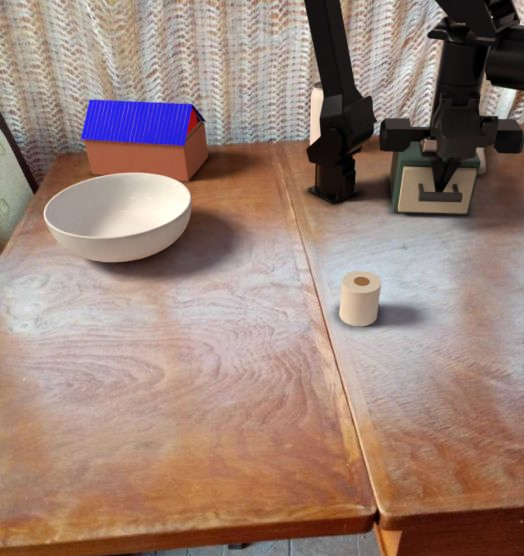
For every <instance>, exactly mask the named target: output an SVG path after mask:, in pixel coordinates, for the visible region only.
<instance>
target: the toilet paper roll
mask: <svg viewBox="0 0 524 556" xmlns="http://www.w3.org/2000/svg"><path fill="white" fill-rule="evenodd" d="M381 288H382V280H381V278H380V277H379V276H378V275H377V274H375V273H373V272H370V271H365V270H356V271H355V270H354V271H351V272H348V273H346V274H345V275H344V276H343V277H342V279H341V285H340V299H339V300H340V301H339V313H338V315H339V318H340V319H341V321H342V322H343V323H345V324H347V325H349V326H353V327H367V326H370V325H372V324H374V323H375V322H376V320H377V318H378V313H379V312H378V311H379V303H380V295H381Z"/></svg>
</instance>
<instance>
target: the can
mask: <svg viewBox="0 0 524 556" xmlns="http://www.w3.org/2000/svg"><path fill="white" fill-rule="evenodd" d="M310 94H311V95H310V123H309V124H310V126H309V129H310V130H309V146H310V145H311V144H312V143H314V142H315V141H316V140H317V139H318V138H319V137H320V136H321V135H320V123H319V117H320V113H321V108H322V103H323V90H322V86H321V81H320V80H319V81H317V82H314V83H313V88H312V91H311V93H310Z"/></svg>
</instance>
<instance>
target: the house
mask: <svg viewBox="0 0 524 556" xmlns="http://www.w3.org/2000/svg"><path fill="white" fill-rule="evenodd" d="M205 123H207V120H206V119H205V118H204V116H203V115H202V114H201V113H200V112H199V110H198V109H197V108H196V106H195V105H194V104H193V103H179V102H178V103H175V102H156V101H155V102H154V101H132V100H112V99H91V98H90V99H89V101H88V105H87V109H86V114H85V119H84V124H83V128H82V132H81V136H80V140H83V143H84V147H85V149H86V154H87V155H86V156H87V159H88V163H89V167H90V170H91V174H92V175H100V176H105V175H111V174H119V173H150V174H157V175H162V176H166V177H169V178H172V179H175V180H177V181H179V182H189V181H190V180H191V179H192V177H193V176H194V175H195V174H196V173H197V171H198V170H199V169H200V168H201V166H202V165H203V164H204V163H205V161H206V160H207V159H208V158H209V154H208V153H209V152H208V143H207V133H206V124H205Z"/></svg>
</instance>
